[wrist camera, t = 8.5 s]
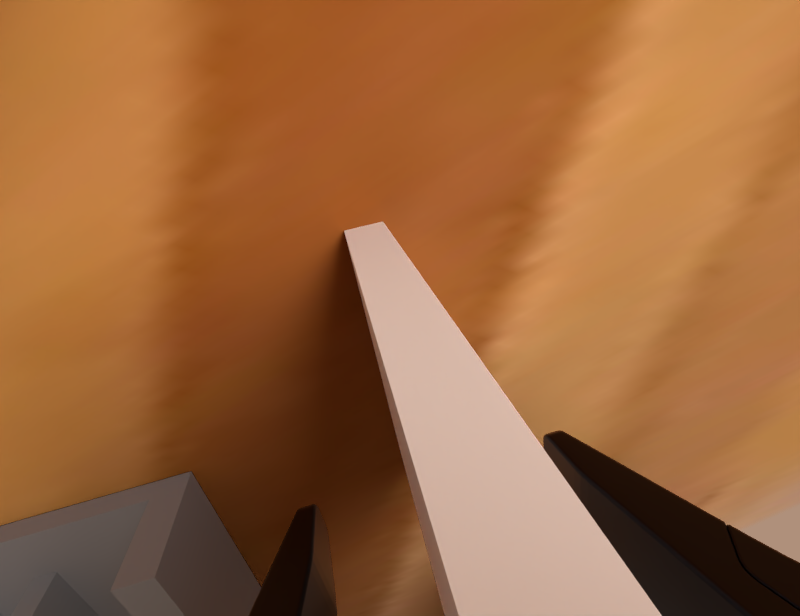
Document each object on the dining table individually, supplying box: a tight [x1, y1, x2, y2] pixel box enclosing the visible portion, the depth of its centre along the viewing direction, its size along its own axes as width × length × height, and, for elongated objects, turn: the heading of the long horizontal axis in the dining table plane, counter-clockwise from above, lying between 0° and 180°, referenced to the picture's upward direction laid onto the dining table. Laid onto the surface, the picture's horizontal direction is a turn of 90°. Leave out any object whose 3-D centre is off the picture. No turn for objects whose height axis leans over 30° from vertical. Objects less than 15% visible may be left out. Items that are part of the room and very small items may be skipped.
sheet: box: [344, 222, 662, 616], centre depth 9 cm, size 1×9×11 cm, turn 10°
